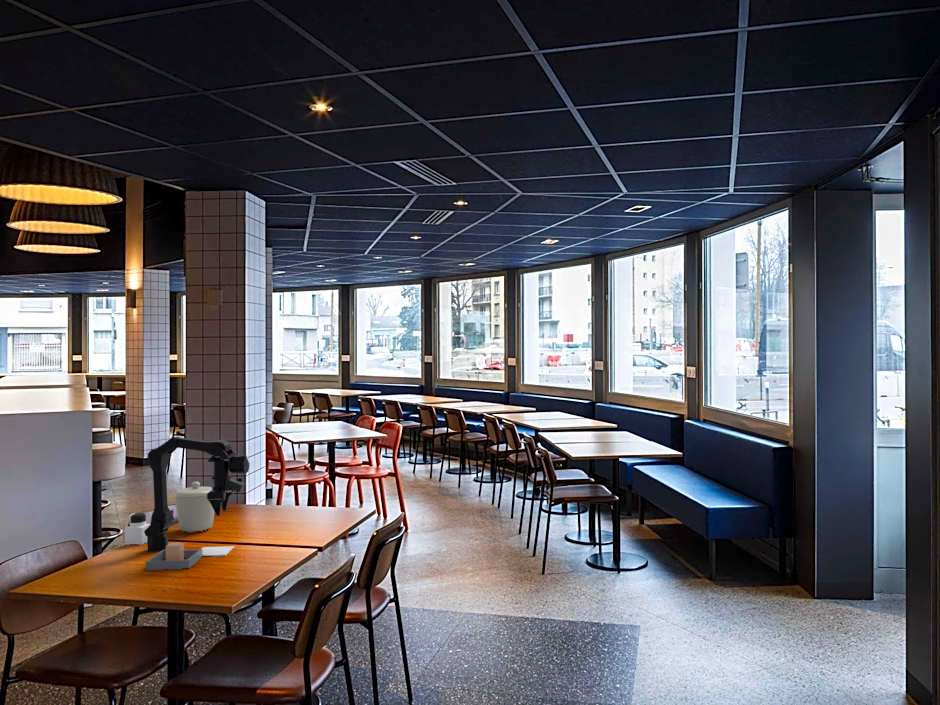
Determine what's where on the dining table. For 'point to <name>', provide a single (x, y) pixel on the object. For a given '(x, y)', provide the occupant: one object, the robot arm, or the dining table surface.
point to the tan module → (175, 551)
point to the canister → (194, 508)
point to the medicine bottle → (136, 529)
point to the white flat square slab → (216, 551)
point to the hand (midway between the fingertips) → (221, 513)
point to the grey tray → (161, 564)
